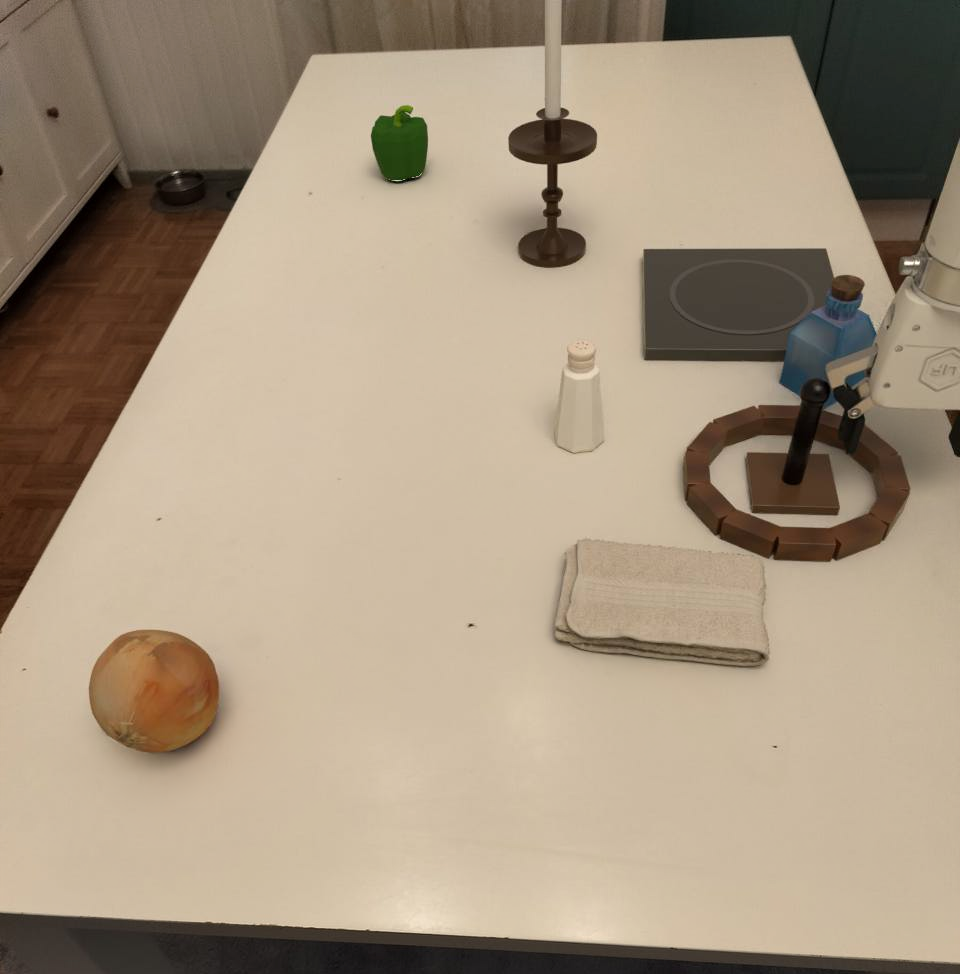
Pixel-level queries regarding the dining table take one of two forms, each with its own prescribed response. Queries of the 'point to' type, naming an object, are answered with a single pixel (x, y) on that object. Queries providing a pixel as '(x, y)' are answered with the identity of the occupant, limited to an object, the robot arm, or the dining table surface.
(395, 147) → the bell pepper
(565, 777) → the dining table surface
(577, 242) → the candlestick
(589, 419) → the pepper shaker
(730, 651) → the washcloth
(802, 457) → the post
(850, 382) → the perfume bottle
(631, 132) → the dining table surface
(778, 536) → the ring
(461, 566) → the dining table surface
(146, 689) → the onion
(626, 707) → the dining table surface
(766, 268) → the hob
